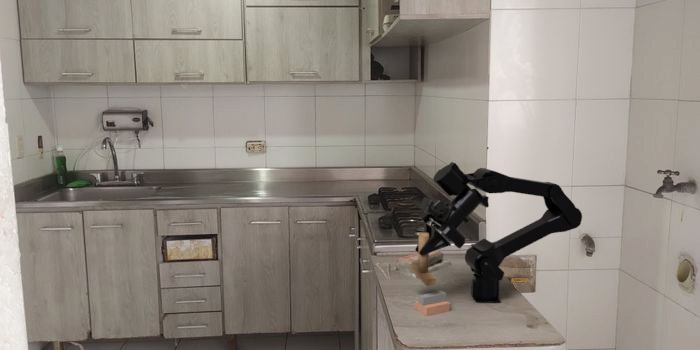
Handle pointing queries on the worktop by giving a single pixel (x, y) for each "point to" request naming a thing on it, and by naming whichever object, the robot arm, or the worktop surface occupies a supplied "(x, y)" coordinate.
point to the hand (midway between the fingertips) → (418, 252)
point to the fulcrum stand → (432, 303)
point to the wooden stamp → (423, 263)
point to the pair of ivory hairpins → (382, 270)
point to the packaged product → (406, 262)
